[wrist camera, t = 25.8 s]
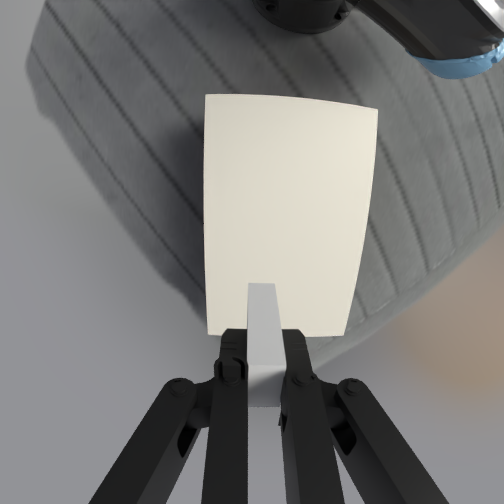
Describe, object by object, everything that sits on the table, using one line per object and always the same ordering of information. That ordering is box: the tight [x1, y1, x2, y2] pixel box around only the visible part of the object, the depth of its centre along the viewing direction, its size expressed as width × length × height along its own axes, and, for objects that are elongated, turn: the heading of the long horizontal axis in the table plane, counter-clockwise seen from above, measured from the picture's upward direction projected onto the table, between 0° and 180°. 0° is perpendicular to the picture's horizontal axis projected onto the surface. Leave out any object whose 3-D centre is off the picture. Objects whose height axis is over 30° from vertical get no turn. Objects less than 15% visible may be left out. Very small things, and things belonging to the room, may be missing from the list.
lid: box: [204, 94, 378, 337], centre depth 31 cm, size 17×28×1 cm, turn 178°
